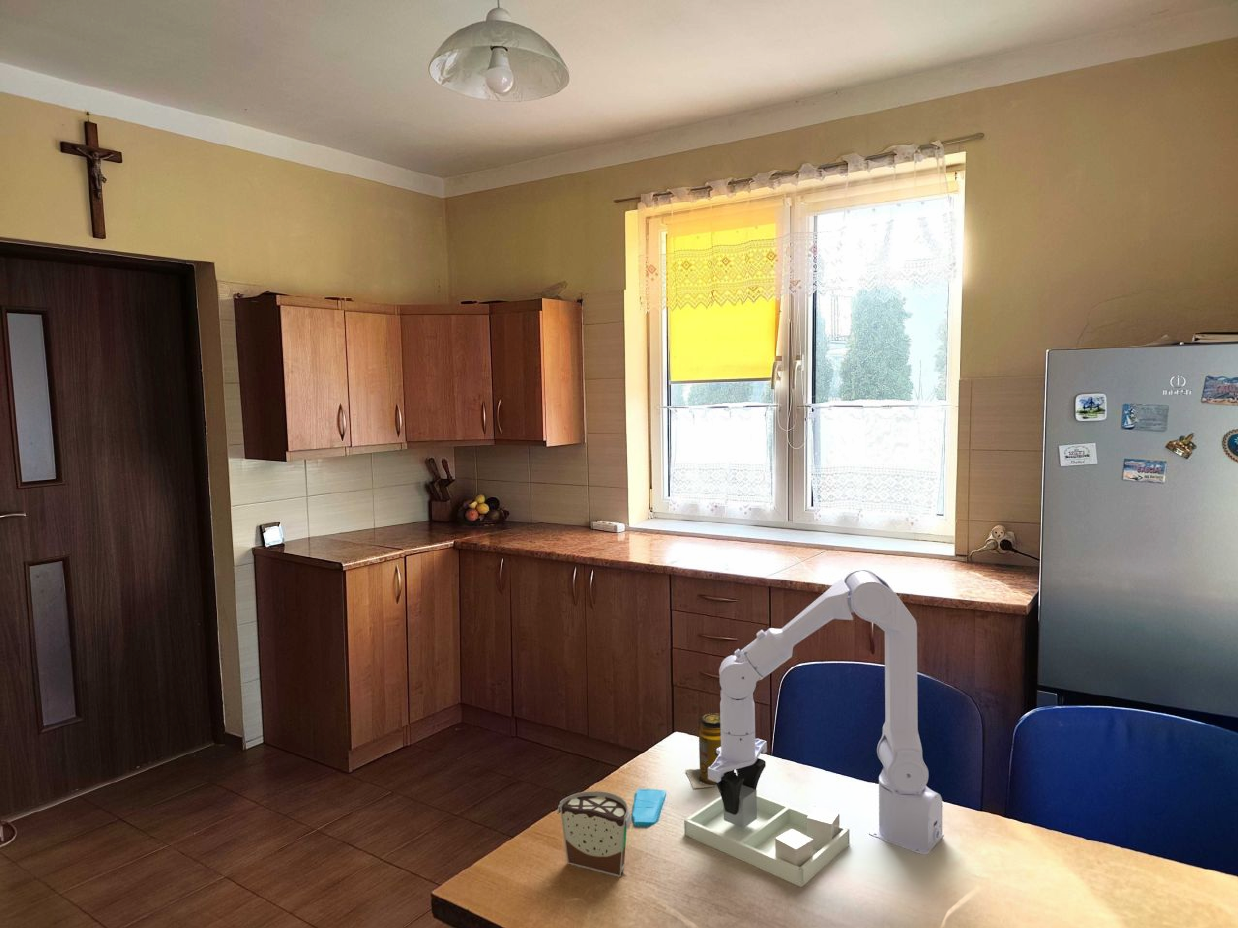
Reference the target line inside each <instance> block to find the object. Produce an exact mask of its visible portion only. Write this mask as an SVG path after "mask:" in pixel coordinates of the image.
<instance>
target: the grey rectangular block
mask: <svg viewBox="0 0 1238 928" xmlns="http://www.w3.org/2000/svg"><path fill="white" fill-rule="evenodd" d="M757 792H758V791H757V789H756V790H755V789H752V788H750V787H747V786H744V785H742V786H741V790H740V795H739V808H738V813H737V814H736V815H733V814H731V813H728V812H726V811H725V808H724V820H725V821H727V822H730V823H732V824H734V825H737V826H739V827H742V828H745V827H746V826H747V825H749V824H750V823H752V822H753V821H754V820H756V819H757V794H758V793H757ZM723 807H724V804H723Z"/></svg>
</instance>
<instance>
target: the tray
mask: <svg viewBox="0 0 1238 928" xmlns="http://www.w3.org/2000/svg"><path fill="white" fill-rule="evenodd" d="M809 814H810V813H809V812H805V811H803V810H801V809H797V808H795V807H793V806H790V805H787V804H784V803H782V802H779V801H777V800H774V799H771V798H769V797H765V796H764V795H761V794H758V793H757V819H756V820H754V821H753V822H752V823H750V824H749V825H747V826H746V827H745V828H742V827H739V826H737V825H734V824H732V823H730V822H727V821H725V820H724V807H723V801H722V797H721V795H720V796H719V797H717V798H716V799H714V800H712V801H711V802H709V803H708V804H707V805H705V806H703V807H702V808H700V809H699V810H697V811H696V812H694V813H692V814H691V815H690V816H688V817H687V818H685V819H683V825H684V826H683V828H684V829H683V830H684V834H683V835H684V836H686V837H689V838H691V839H694V840H696V841H698V842H700V843H701V844H705V845H707V846H709V847H711V848H714V849H715V850H717V851H720V852H722V853H724V854H727V855H729V856H731V857H733V858H736V859H737V860H740V861H743V862H744V863H746V864H748V865H751V866H753V867H755V868H757V869H760V870H762V871H765V872H767V873H768V874H771V875H774V876H775V877H778V878H780V879H782V880H785V881H786V882H789V883H791V884H793V885H796V886H798V887H800V888H803V887H804V886H805V885H806V884H807V883H808V882H809V881H810V880H811V879H813V878H814V877H815V876H816V875H817V874H818V873H819V872H820V871H821V870H823V869H824V868H825V867H826V866H827V865H828V864H829V863H831V862H832V860H834V858H836V857H837V856H838V855H839V854H840V853H842V852H843V850H845V849H846V848H847V847H848V846H850V828H849V827H845V826H844V825H840V833H839V834H838V835H837V836H836V837H834V838H833V839H832V840H831V841H830V842H829V843H828V844H826V845H825V846H824V847H823V848H822V849H821V850H820V851H818V850H814V849H813V857H811V858H810V859H809V860H808V861H807V862H806V863H805V864H803V865H802V866H801V867H798V866H795V865H793V864H791V863H788V862H786V861H784V860H781V859H779V858H777V857H775V838H776V837H778V836H780V835H782V834H783V833H785V832H787V831H789V830H791V829H793V830H795V831H797V832H799V833H801V834H803V835H805V836H807V817H808V815H809Z"/></svg>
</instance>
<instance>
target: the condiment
mask: <svg viewBox="0 0 1238 928" xmlns="http://www.w3.org/2000/svg"><path fill="white" fill-rule="evenodd" d="M698 732H699V733H698V745H699V746H698V749H699V752H698V753H699V755H698V756H699V758H698V759H699V768H695V769H692V768H691V769H690V768H689V769H685V770H684V771H685V773H686V775H687V778H688V780H689V782H690V784H691V786H692V788H693V789H695V790H696V789H702V788H703V789H704V788H714V787H715V786H716V787H717V785H716V783H715V782H714V781H712V780H709V779H708V767H710V766H711V765H712V764H713V763H714V761H715V760H716V758H717V757H718V755H719V754H717V753H716V749H717V748H719V747H721V723H720V713H717V712H715V713H714V712H712V713H706V714H704V715H702V717H701V718H700V730H699V731H698Z"/></svg>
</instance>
